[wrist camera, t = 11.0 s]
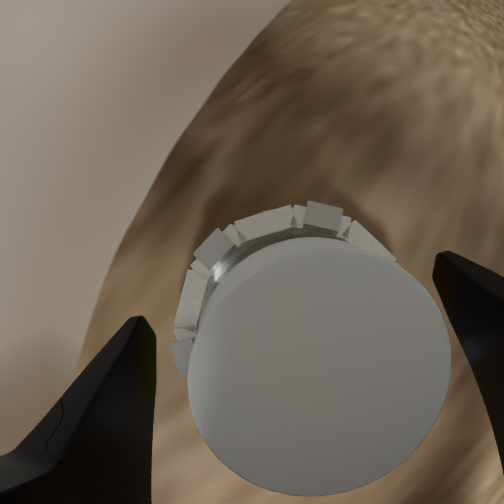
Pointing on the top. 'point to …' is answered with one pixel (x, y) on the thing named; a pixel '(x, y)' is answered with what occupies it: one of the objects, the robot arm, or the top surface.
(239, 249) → the steel ashtray
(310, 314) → the pill bottle
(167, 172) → the top surface
